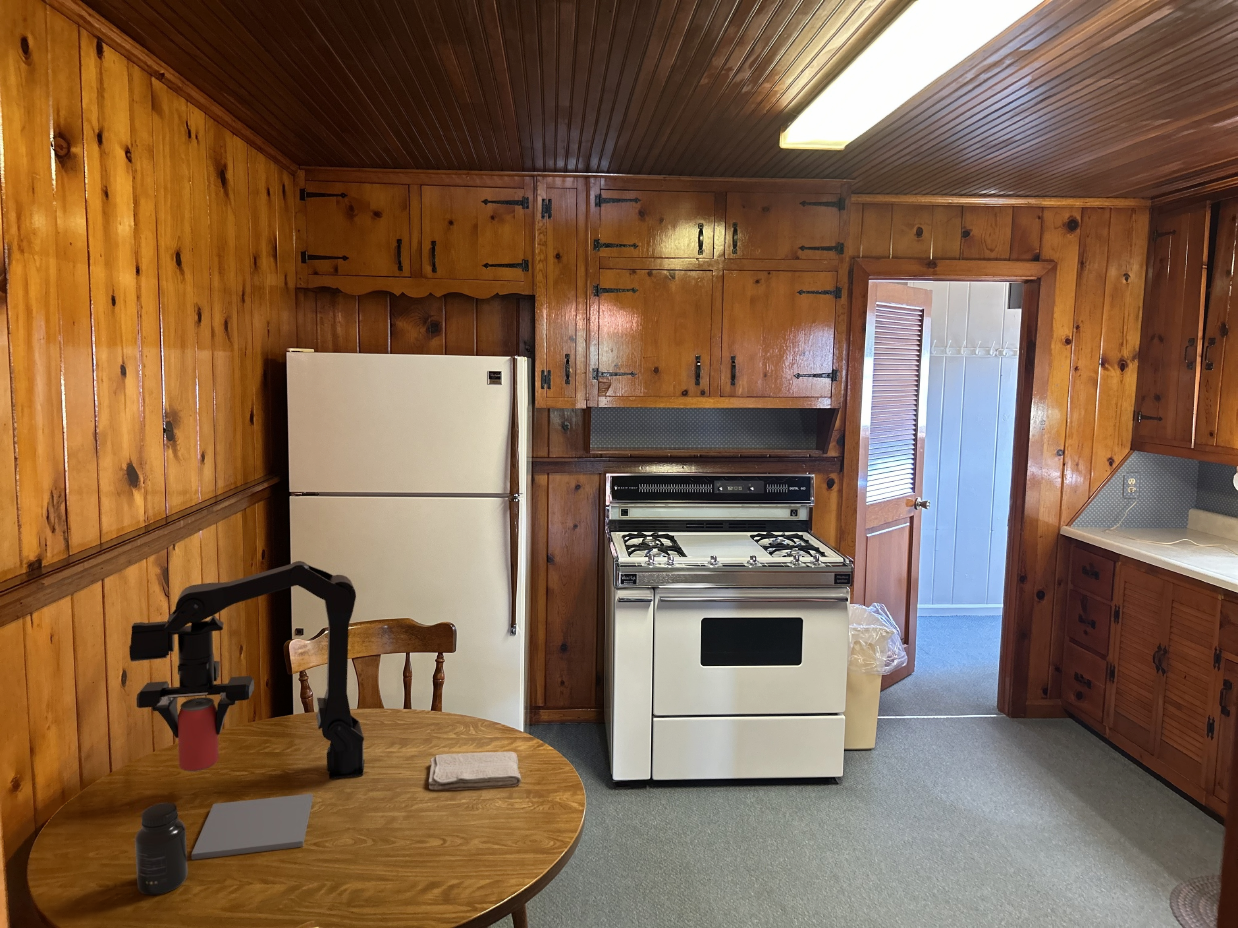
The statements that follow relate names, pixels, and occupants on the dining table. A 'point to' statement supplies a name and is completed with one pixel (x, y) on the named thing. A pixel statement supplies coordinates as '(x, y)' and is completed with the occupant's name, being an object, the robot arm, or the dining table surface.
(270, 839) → the slate board
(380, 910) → the dining table surface
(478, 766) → the washcloth
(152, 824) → the supplement bottle
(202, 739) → the beer can
